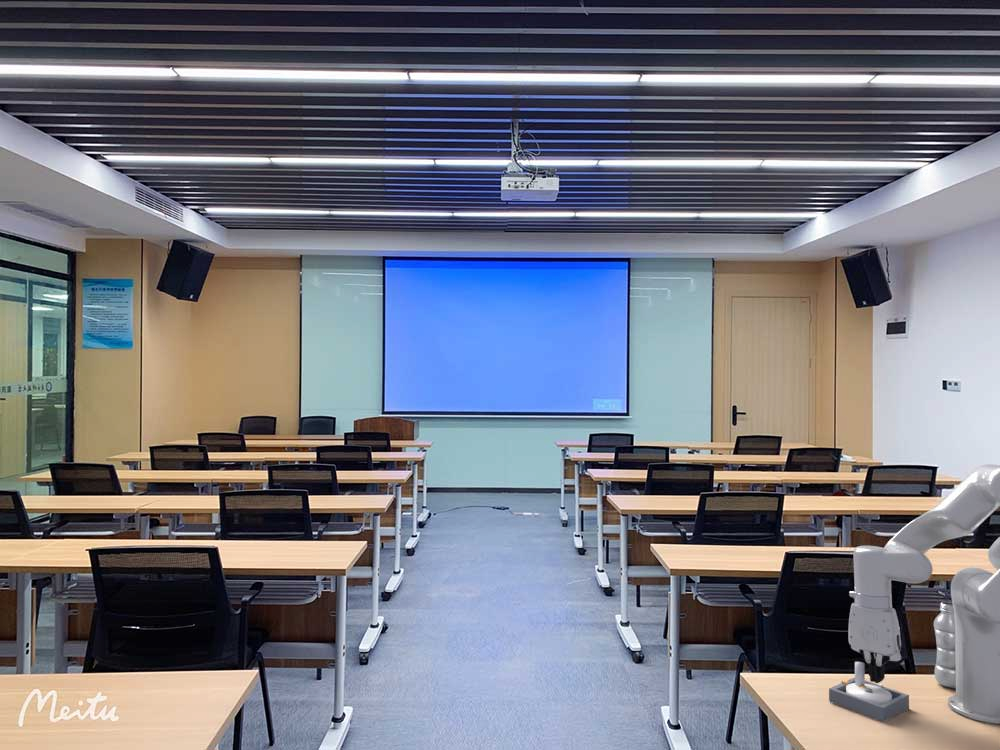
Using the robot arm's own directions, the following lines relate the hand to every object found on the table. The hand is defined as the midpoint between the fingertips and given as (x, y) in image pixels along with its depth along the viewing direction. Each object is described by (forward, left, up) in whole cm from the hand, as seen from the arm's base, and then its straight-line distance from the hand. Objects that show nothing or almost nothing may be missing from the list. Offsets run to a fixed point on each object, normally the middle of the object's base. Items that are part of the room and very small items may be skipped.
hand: (876, 680), depth 156 cm
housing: (+4, 0, -5) cm, 6 cm away
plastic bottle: (-24, +6, -5) cm, 25 cm away
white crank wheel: (+4, 0, -3) cm, 5 cm away
